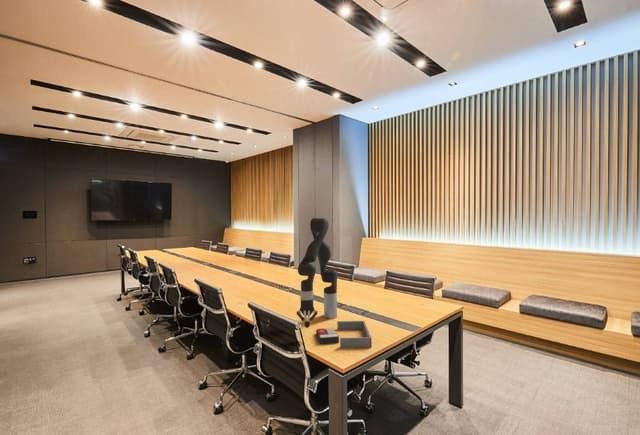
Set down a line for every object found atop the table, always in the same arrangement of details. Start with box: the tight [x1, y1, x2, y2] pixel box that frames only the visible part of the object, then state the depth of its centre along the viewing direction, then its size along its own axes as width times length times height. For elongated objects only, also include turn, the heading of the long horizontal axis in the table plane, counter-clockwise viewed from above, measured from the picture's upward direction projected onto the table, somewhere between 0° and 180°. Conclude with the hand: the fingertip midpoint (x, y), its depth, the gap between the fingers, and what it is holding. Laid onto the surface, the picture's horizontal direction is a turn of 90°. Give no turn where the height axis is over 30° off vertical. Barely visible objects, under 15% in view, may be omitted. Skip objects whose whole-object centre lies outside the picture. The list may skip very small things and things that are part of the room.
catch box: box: [336, 320, 373, 349], centre depth 176 cm, size 26×17×5 cm, turn 0°
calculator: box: [315, 327, 340, 345], centre depth 176 cm, size 11×4×15 cm
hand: (307, 327), depth 175 cm, fingers closed
